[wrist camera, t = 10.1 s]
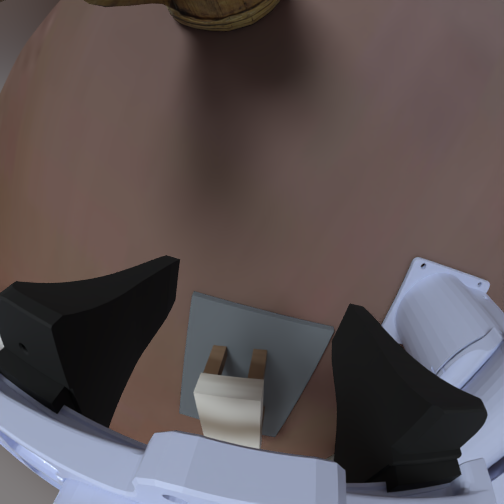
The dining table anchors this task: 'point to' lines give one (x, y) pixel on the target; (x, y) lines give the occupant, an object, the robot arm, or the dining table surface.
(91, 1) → the wooden mug
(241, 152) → the dining table surface
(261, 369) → the cream block with tabs
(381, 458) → the robot arm
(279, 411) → the mat
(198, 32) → the dining table surface
